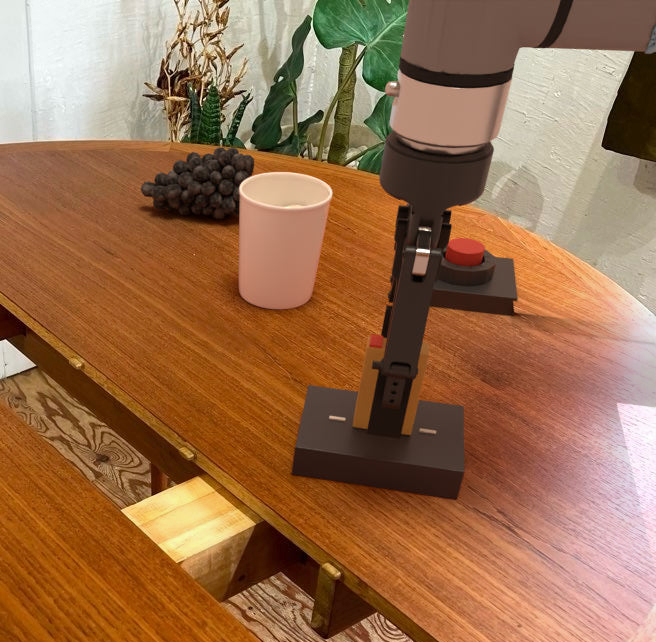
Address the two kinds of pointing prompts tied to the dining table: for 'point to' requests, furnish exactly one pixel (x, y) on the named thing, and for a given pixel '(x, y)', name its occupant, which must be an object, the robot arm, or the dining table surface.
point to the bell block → (477, 286)
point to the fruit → (188, 183)
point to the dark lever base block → (380, 446)
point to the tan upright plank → (369, 379)
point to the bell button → (465, 252)
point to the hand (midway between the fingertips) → (386, 402)
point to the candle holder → (281, 237)
